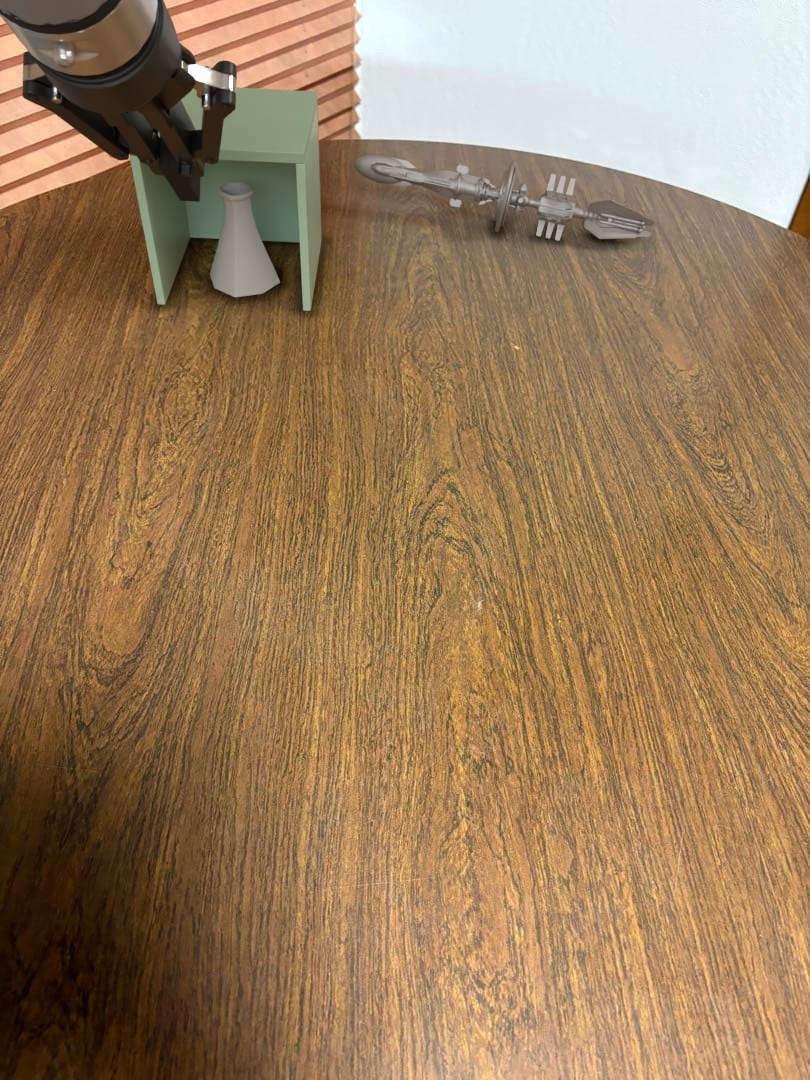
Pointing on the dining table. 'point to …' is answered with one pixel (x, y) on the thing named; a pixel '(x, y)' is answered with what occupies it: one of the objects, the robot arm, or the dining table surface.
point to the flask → (241, 247)
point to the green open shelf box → (250, 157)
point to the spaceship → (511, 197)
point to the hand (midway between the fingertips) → (190, 183)
